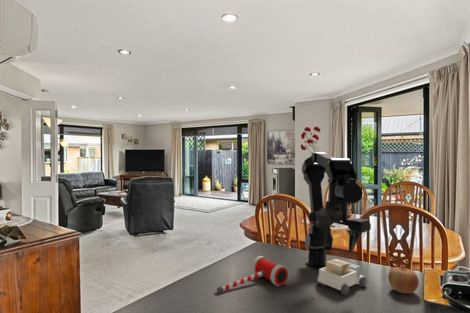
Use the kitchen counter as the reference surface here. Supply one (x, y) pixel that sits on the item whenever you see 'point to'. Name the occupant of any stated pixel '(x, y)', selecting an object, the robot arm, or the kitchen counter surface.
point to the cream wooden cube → (337, 267)
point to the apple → (403, 280)
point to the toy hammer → (262, 273)
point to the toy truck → (342, 279)
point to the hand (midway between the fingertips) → (337, 248)
